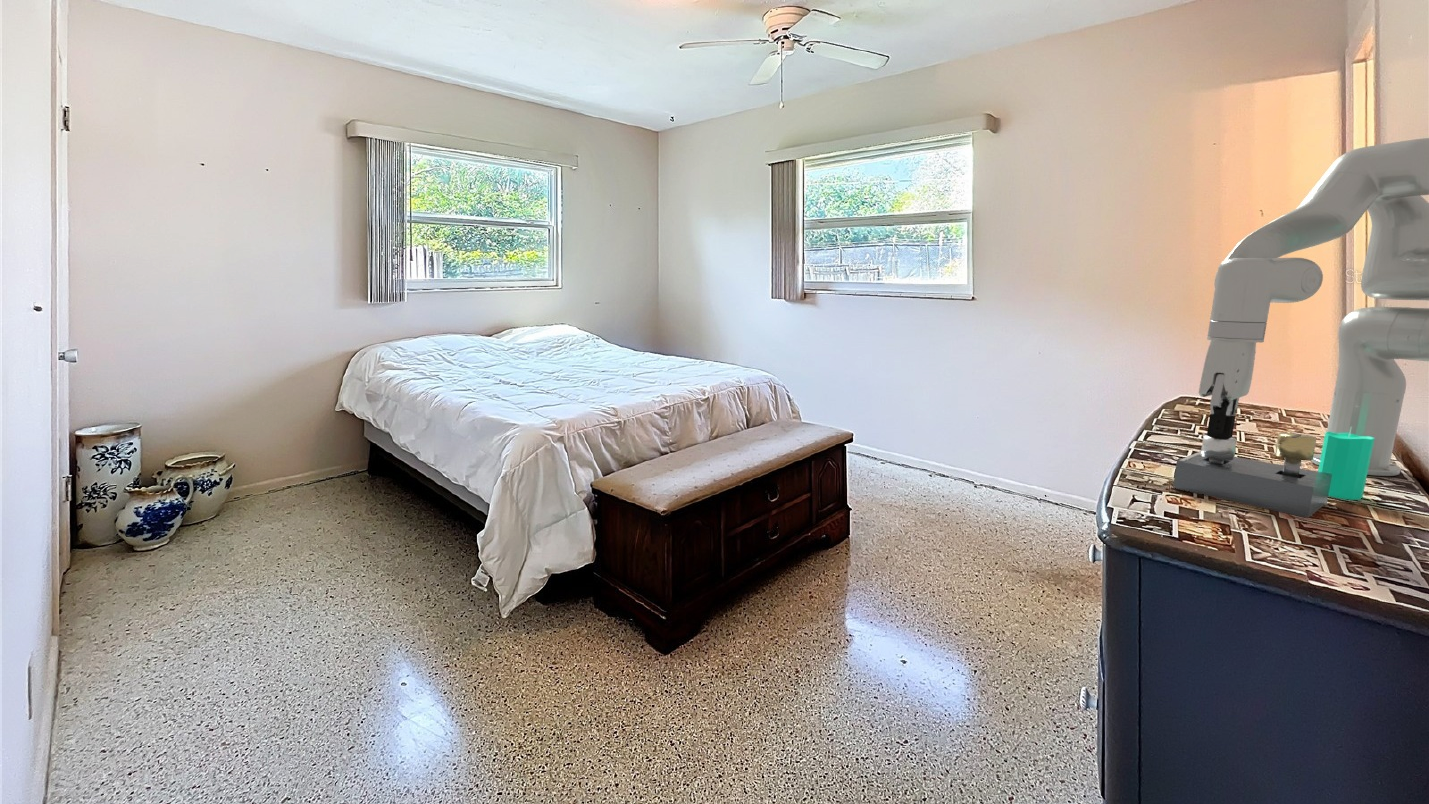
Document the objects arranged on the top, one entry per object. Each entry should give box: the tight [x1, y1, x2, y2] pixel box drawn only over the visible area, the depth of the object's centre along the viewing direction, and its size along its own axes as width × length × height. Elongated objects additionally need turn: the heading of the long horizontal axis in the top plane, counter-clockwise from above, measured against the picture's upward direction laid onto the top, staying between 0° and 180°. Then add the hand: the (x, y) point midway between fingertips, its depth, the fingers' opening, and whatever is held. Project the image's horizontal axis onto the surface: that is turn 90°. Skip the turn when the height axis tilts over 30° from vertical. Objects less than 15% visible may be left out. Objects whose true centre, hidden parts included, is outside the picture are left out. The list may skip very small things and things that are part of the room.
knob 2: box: [1274, 432, 1317, 478], centre depth 104 cm, size 5×5×8 cm
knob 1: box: [1200, 434, 1237, 464], centre depth 112 cm, size 5×5×8 cm
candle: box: [1318, 427, 1375, 501], centre depth 109 cm, size 6×6×12 cm
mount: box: [1172, 450, 1332, 519], centre depth 109 cm, size 12×18×5 cm, turn 36°
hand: (1219, 437), depth 111 cm, fingers closed
